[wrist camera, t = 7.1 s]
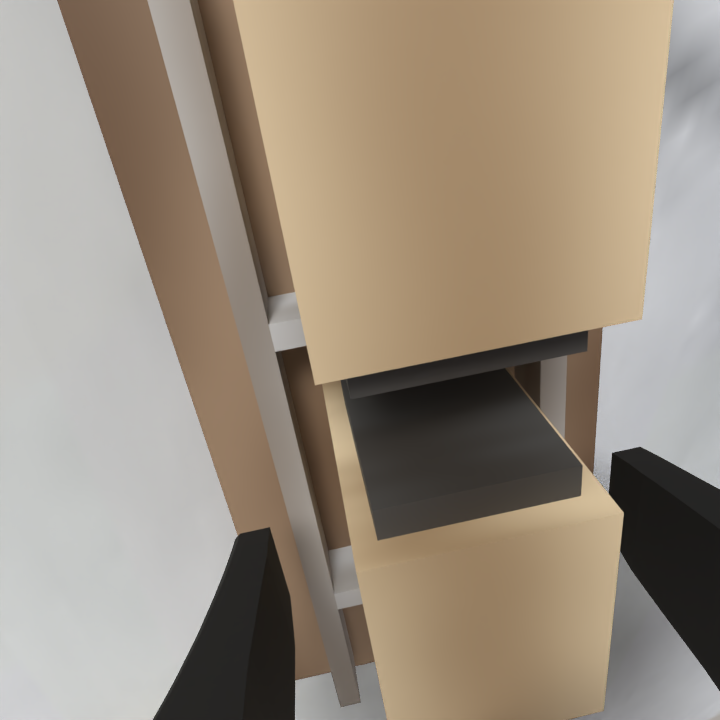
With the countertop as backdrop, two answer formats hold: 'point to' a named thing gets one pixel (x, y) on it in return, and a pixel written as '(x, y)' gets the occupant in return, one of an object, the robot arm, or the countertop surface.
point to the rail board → (375, 225)
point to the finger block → (476, 551)
